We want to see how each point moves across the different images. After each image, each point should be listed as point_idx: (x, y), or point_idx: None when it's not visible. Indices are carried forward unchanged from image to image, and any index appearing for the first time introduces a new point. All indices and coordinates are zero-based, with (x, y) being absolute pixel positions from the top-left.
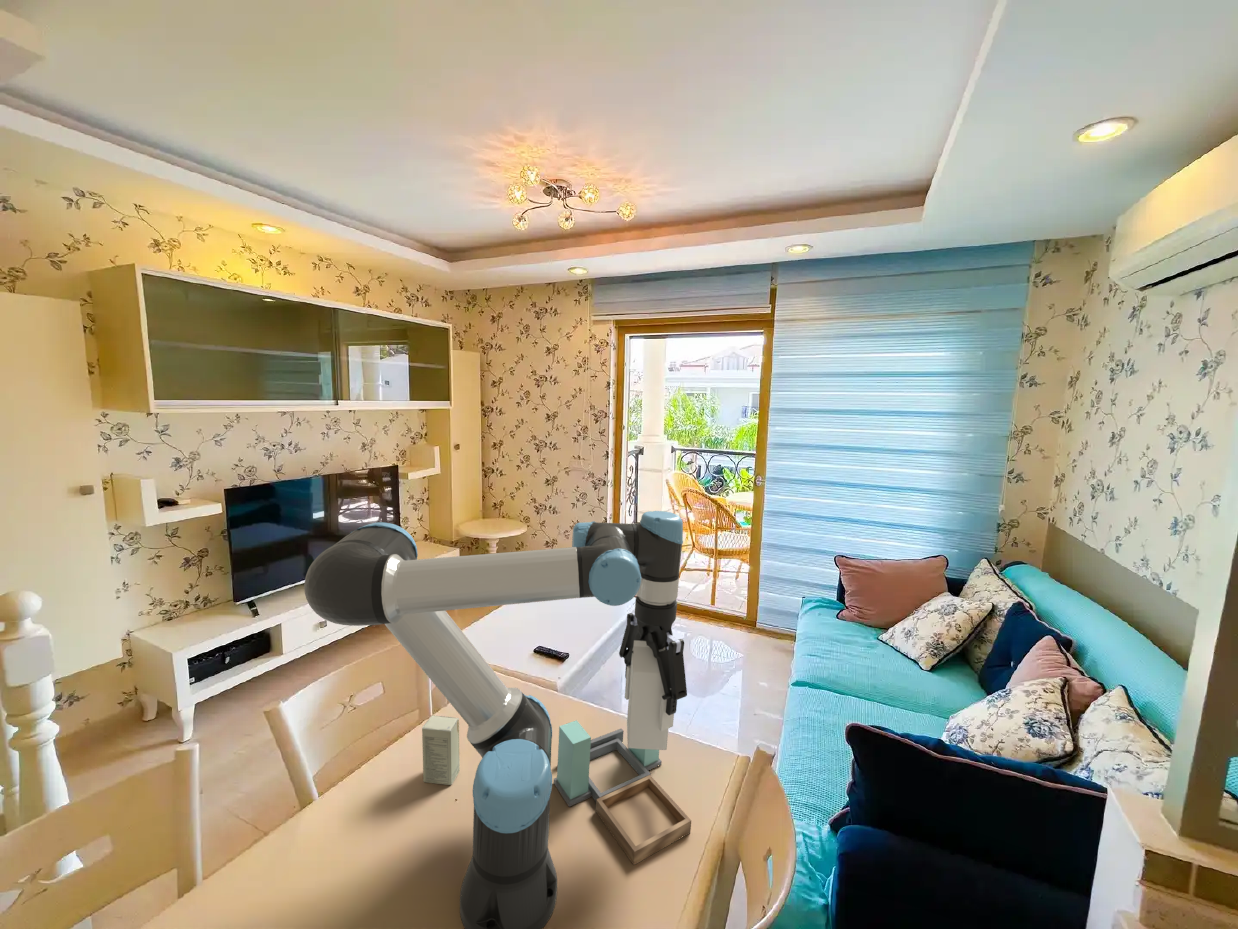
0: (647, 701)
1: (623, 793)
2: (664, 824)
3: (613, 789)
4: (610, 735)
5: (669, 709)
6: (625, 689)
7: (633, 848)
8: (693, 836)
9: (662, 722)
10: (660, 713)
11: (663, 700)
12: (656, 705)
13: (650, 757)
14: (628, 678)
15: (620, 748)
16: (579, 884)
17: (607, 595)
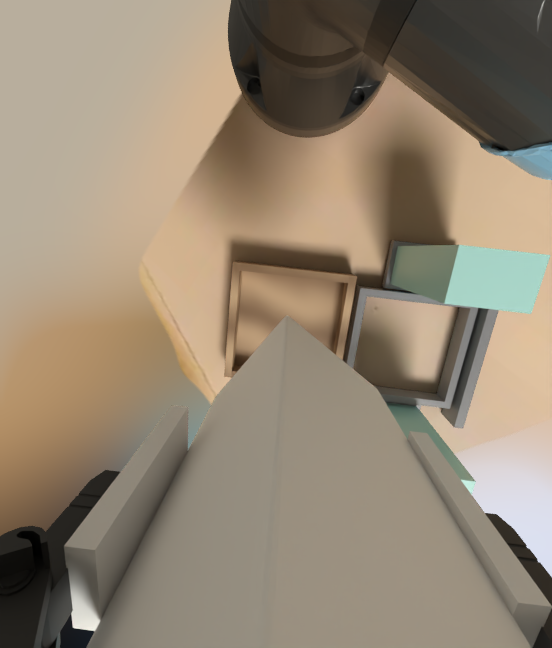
0: (217, 457)
1: (339, 328)
2: (258, 345)
3: (357, 319)
4: (463, 399)
5: (86, 497)
6: (445, 461)
7: (238, 264)
8: (222, 367)
9: (155, 430)
10: (153, 453)
11: (85, 522)
12: (191, 476)
13: None
14: (466, 522)
15: (428, 396)
16: (261, 168)
17: None
